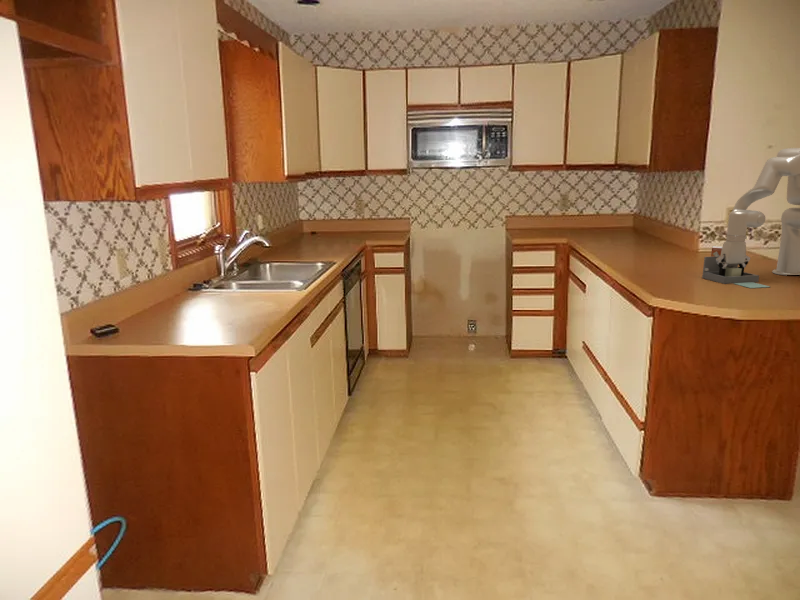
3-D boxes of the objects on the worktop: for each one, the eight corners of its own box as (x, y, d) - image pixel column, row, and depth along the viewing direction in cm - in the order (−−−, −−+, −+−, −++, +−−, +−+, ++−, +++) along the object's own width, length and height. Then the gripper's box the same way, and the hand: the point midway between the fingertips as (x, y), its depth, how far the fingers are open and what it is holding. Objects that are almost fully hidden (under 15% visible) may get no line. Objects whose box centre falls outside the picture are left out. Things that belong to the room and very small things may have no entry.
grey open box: (734, 276, 283) (736, 255, 281) (758, 282, 269) (761, 260, 267) (700, 277, 280) (703, 256, 277) (723, 283, 266) (726, 261, 263)
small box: (708, 274, 288) (711, 247, 285) (709, 272, 294) (712, 245, 291) (727, 275, 284) (730, 248, 282) (727, 273, 290) (731, 246, 287)
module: (730, 278, 277) (732, 265, 275) (740, 281, 271) (741, 267, 270) (721, 279, 276) (722, 265, 274) (730, 281, 270) (732, 267, 269)
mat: (752, 282, 267) (752, 282, 267) (770, 287, 258) (770, 286, 258) (733, 283, 265) (733, 283, 265) (750, 288, 256) (750, 287, 256)
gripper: (745, 237, 275) (740, 273, 279) (713, 238, 271) (708, 275, 275) (758, 239, 267) (753, 276, 271) (725, 240, 264) (720, 278, 268)
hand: (730, 276), depth 273 cm, fingers open, 9 cm apart
